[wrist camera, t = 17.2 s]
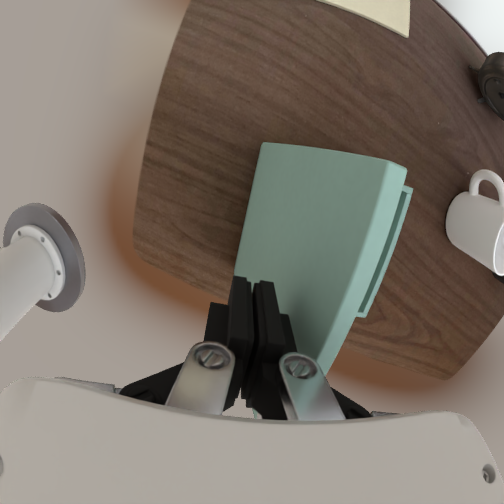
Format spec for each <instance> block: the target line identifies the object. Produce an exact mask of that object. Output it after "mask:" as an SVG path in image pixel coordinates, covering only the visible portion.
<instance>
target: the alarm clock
mask: <svg viewBox="0 0 504 504" xmlns="http://www.w3.org/2000/svg"><path fill="white" fill-rule="evenodd" d="M469 68H470V69H472V70H474V71H475V72H477V73H478V83H479V87H480V90H481V93H482V95H483V98H480V99H478V103H482V102H487V103H488V105H489V106H490V107H491V109H492V110H493V111H494V112H495V113H496V114H497V115H498V116H499V117H500V118H501V119H502V120H503V121H504V53H503V52H496V53H492V54H490V55H489V56H488V57H487V58H486V60H485V62H484V64H483V65H482V67H481V69H480V70H479V69H477V68H474V67H472V66H471V65H469Z"/></svg>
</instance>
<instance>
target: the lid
mask: <svg viewBox="0 0 504 504" xmlns="http://www.w3.org/2000/svg"><path fill="white" fill-rule="evenodd" d="M406 173H407V169H406V168H405V167H403V166H400V165H398V164H396V163H393V162H391V161H388V160H384V159H379V158H374V157H369V156H364V155H359V154H353V153H348V152H342V151H335V150H329V149H322V148H315V147H307V146H299V145H290V144H280V143H269V142H263V145H262V149H261V154H260V158H259V162H258V167H257V171H256V176H255V180H254V185H253V189H252V194H251V198H250V203H249V208H248V212H247V217H246V221H245V226H244V231H243V235H242V240H241V245H240V249H239V254H238V259H237V264H236V268H235V273H234V275H235V276H241V277H247V281H250V282H251V286H252V290H253V286H254V283H255V282H256V283H259V282H260V280H264V281H270V282H274V287H275V292H276V296H277V301H278V306H279V311H280V313H282V314H288V315H289V319H290V323H291V327H292V331H293V335H294V339H295V343H296V347H297V352H299V353H303V354H306V355H308V356H310V357H312V358H313V359H314V360H316V361H317V363H318V364H319V365H320V367H321V369H322V371H323V373H324V375H325V376H326V374H327V372H328V370H329V368H330V366H331V365H332V363H333V361H334V359H335V357H336V355H337V353H338V351H339V349H340V347H341V346H342V344H343V342H344V340H345V338H346V335H347V333H348V331H349V329H350V327H351V325H352V323H353V321H354V319H355V316H356V314H357V312H358V310H359V308H360V305H361V303H362V301H363V299H364V296H365V294H366V292H367V289H368V287H369V284H370V282H371V279H372V277H373V274H374V272H375V269H376V267H377V264H378V262H379V259H380V256H381V254H382V251H383V248H384V245H385V242H386V240H387V237H388V234H389V231H390V228H391V225H392V222H393V219H394V215H395V212H396V209H397V206H398V202H399V199H400V195H401V192H402V188H403V185H404V181H405V177H406ZM252 409H253V408H252ZM253 414H254V418H255V419H257V414H258V412H256V411H255V410H254V409H253Z"/></svg>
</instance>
